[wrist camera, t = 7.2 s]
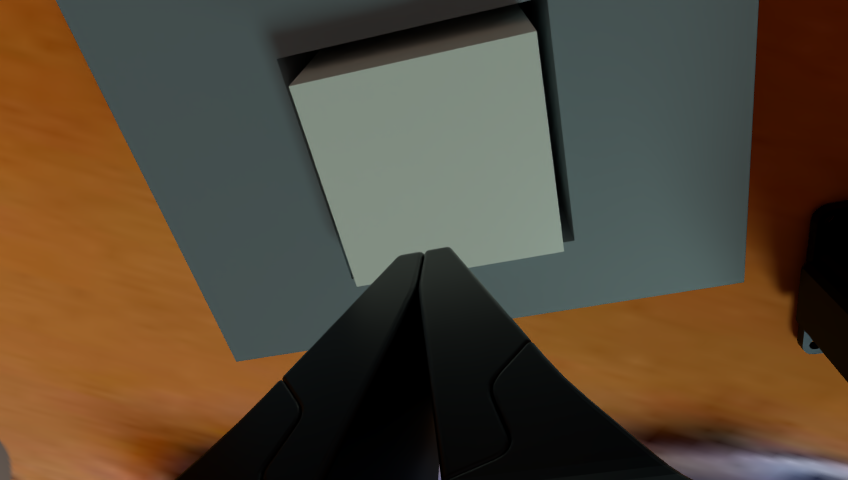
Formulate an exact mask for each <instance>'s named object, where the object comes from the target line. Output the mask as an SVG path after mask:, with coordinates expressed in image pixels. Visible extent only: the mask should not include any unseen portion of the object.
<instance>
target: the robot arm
mask: <svg viewBox="0 0 848 480" xmlns="http://www.w3.org/2000/svg"><path fill="white" fill-rule="evenodd" d="M833 215H834V217H833V219H832V220H830V221H829V222H826V223H825V221H826V219H828V218H829V217H830V216H833ZM796 321H797V322H798V323H799V329H798V338H797V341H798V344H799V345H800V346H801V348H802V349H803V350H804V351H805V352H806V353H809V354H819V353H824V354H825V356H826V357H827V358H828V359H829V360H830V362H831V363H832V364H833V365H834V366H835V368H836V369H837V370H838V371H839V372H840V374H841V375H842V376H843V377H844V378H845V380H846V381H847V382H848V200H847V201H841V202H835V203H830V204H826V205H823V206H821V207H819V208H818V209H816V211H815V212H814V213H813V214H812V217H811V223H810V232H809V240H808V249H807V258H806V263H805V264H804V266H803V267H802V269H801V277H800V286H799V295H798V304H797V314H796ZM812 341H814V342H812ZM282 380H283V381H282ZM282 380H280V381H278V382H277V383H276V385H275V386H274V387H273V388H272V389H271V390H270V391H269V392H268V393H267V394H266V395H265V396H264V397H263V398H262V399H261V400H260V401H259V402H258V403H257V404H256V405H255V406H254V407H253V408H252V409H251V410H250V411H249V412H248V413H247V414H246V415H245V416H244V417H243V418H242V419H241V420H240V421H239V422H238V423H237V424H236V425H235V426H234V427H233V428H232V429H231V430H229V431H228V432H227V433H226V434H225V435H224V436H223V437H222V438H221V439H220V440H219V441H218V442H216V443H215V444H214V445H213V446H212V447H211V448H210V449H209V450H208V451H207V452H205V453H204V454H203V455H202V456H201V457H200V458H199V459H198V460H196V461H195V462H194V463H193V464H192V465H191V466H190V467H189V468H187V469H186V470H185V471H184V472H183V473H182V474H181V475H180V476H178V477H177V478H176V479H175V480H438V473H439V465H440V473H441V480H692V479H690V478H689V477H687V476H685V475H683V474H681V473H680V472H678V471H677V470H675V469H674V468H672V467H671V466H669V465H668V464H667V463H665V462H664V461H663V460H662V459H660V458H659V457H658V456H657V455H655V454H654V453H653V452H652V451H651V450H649V449H648V448H647V447H646V446H645V445H643V444H642V443H641V442H640V441H639V440H637V439H636V438H635V437H634V436H633V435H631V434H630V433H629V432H628V431H627V430H625V429H624V428H623V427H622V426H621V425H619V424H618V423H617V422H616V421H615V420H613V419H612V418H611V417H610V416H609V415H607V414H606V413H605V412H604V411H603V410H601V409H600V408H599V407H598V406H597V405H595V404H594V403H593V402H592V401H591V400H589V399H588V398H587V397H586V396H585V395H584V394H583V393H582V392H580V391H579V390H578V389H577V388H576V387H575V386H574V385H573V384H572V383H570V382H569V381H568V380H567V379H566V378H565V377H564V376H563V375H562V374H561V373H560V372H559V371H558V370H557V369H556V368H555V367H554V366H553V365H552V363H551V362H550V361H549V360H548V359H547V358H546V357H545V356H544V355H543V354H542V353H541V351H540V350H539V349H538V348H537V347H536V346H535V344H534V343H532V342H531V340H530V339H529V338H528V337H527V336H526V334H525V333H524V332H523V331H522V330H521V329H520V327H519V326H518V325H517V324H516V323H515V322H514V320H513V319H512V318H511V317H510V316H509V315H508V313H507V312H506V311H505V310H504V309H503V308H502V307H501V305H500V304H499V303H498V302H497V301H496V300H495V298H494V297H493V296H492V295H491V294H490V293H489V291H488V290H487V289H486V288H485V287H484V286H483V285H482V283H481V282H480V281H479V280H478V279H477V278H476V276H475V275H474V274H473V273H472V272H471V271H470V269H469V268H468V267H467V266H466V265H465V264H464V262H463V261H462V260H461V259H460V258H459V257H458V256H457V254H456V253H455V252H454V251H453V250H452V249H451V248H450V247H443V248H437V249H432V250H428V251H426V252H425V254H424V253H422V252H415V253H409V254H404V255H400V256H398V257H397V258H396V259H395V260H394V261H393V262H392V263H391V264H390V265H389V266H388V267H387V268H386V269H385V270H384V271H383V272H382V274H381V275H380V276H379V277H378V278H377V279H376V280H375V281H374V282H373V283H372V284H371V285H370V286H369V287H368V288H367V289H366V290H365V291H364V292H363V293H362V295H361V296H360V297H359V298H358V299H357V300H356V301H355V302H354V303H353V304H352V305H351V306H350V307H349V308H348V309H347V310H346V311H345V312H344V313H343V314H342V316H341V317H340V318H339V319H338V320H337V321H336V322H335V323H334V324H333V325H332V326H331V327H330V328H329V329H328V330H327V331H326V332H325V333H324V334H323V335H322V336H321V338H320V339H319V340H318V341H317V342H316V343H315V344H314V345H313V346H312V347H311V348H310V349H309V350H308V351H307V352H306V353H305V354H304V355H303V356H302V357H301V359H300V360H299V361H298V362H297V363H296V364H295V365H294V366H293V367H292V368H291V369H290V370H289V371H288V372H287V373H286V374H285V375H284V376H283V378H282Z"/></svg>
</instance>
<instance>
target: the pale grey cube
mask: <svg viewBox="0 0 848 480" xmlns="http://www.w3.org/2000/svg"><path fill="white" fill-rule="evenodd" d="M289 89H290V92H291V95H292V98H293V100H294V103H295V106H296V109H297V112H298V115H299V118H300V121H301V124H302V127H303V130H304V133H305V136H306V139H307V142H308V145H309V148H310V150H311V153H312V156H313V159H314V162H315V165H316V168H317V171H318V174H319V177H320V180H321V183H322V186H323V189H324V192H325V195H326V198H327V201H328V203H329V206H330V209H331V212H332V215H333V218H334V221H335V224H336V227H337V230H338V233H339V236H340V239H341V242H342V245H343V248H344V251H345V253H346V256H347V259H348V262H349V265H350V268H351V271H352V274H353V277H354V280H355V283H356V286H357V287H359V286H365V285H371V284H372V283H373V282H374V281H375V280H376V279H377V278H378V277H379V276H380V275H381V274H382V272H383V271H384V270H385V269H386V268H387V267H388V266H389V265H390V264H391V263H392V262H393V261H394V260H395V259H396V258H397V257H398V256H400V255H404V254H409V253H415V252H422V253H424V254H425V252H426V251H428V250H432V249H437V248H443V247H450V248H451V249H452V250H453V251H454V252H455V253H456V254H457V256H458V257H459V258H460V259H461V260H462V261H463V262H464V264H465V265H466V266H467V267H468V268H471V267H477V266H482V265H488V264H494V263H500V262H506V261H512V260H518V259H523V258H529V257H535V256H541V255H547V254H553V253H559V252H564V246H563V238H562V230H561V222H560V214H559V206H558V198H557V190H556V182H555V174H554V166H553V158H552V150H551V142H550V134H549V126H548V118H547V110H546V102H545V94H544V86H543V78H542V70H541V62H540V54H539V46H538V38H537V31H536V29H535V28H534V27H533V25H532V24H531V22H530V21H529V19H528V18H527V17H526V15H525V14H524V12H523V11H522V9H521V8H520V7H519V5H518V4H517V3H516V4H512V5H508V6H503V7H499V8H495V9H490V10H486V11H482V12H477V13H473V14H469V15H464V16H460V17H456V18H451V19H447V20H443V21H438V22H434V23H430V24H425V25H421V26H417V27H412V28H408V29H404V30H399V31H395V32H391V33H387V34H382V35H378V36H374V37H369V38H365V39H361V40H356V41H352V42H348V43H343V44H339V45H335V46H330V47H326V48H322V49H320V51H319V52H318V53H317V54H316V55H315V56H314V58H313V59H312V60H311V61H310V62H309V63H308V65H307V66H306V67H305V68H304V69H303V70H302V72H301V73H300V74H299V75H298V76H297V77H296V78H295V80H294V81H293V82H292V83H291V84H290V85H289Z"/></svg>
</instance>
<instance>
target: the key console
mask: <svg viewBox="0 0 848 480" xmlns="http://www.w3.org/2000/svg"><path fill="white" fill-rule="evenodd" d="M56 2H57V4H58V6H59V8H60V10H61V12H62V14H63V16H64V18H65V20H66V22H67V24H68V26H69V28H70V30H71V32H72V34H73V36H74V38H75V40H76V42H77V44H78V46H79V48H80V50H81V52H82V54H83V56H84V58H85V60H86V62H87V64H88V66H89V68H90V70H91V72H92V74H93V76H94V78H95V80H96V82H97V84H98V86H99V88H100V90H101V92H102V94H103V96H104V98H105V100H106V102H107V104H108V106H109V108H110V110H111V112H112V114H113V116H114V118H115V120H116V122H117V124H118V126H119V128H120V130H121V132H122V134H123V136H124V138H125V140H126V142H127V144H128V146H129V148H130V150H131V152H132V154H133V156H134V158H135V160H136V162H137V164H138V166H139V168H140V170H141V172H142V174H143V176H144V178H145V180H146V182H147V184H148V186H149V188H150V190H151V192H152V194H153V196H154V198H155V200H156V202H157V204H158V206H159V208H160V210H161V212H162V214H163V216H164V218H165V220H166V222H167V224H168V226H169V228H170V230H171V232H172V234H173V236H174V238H175V240H176V242H177V244H178V246H179V248H180V250H181V252H182V254H183V256H184V258H185V260H186V262H187V264H188V266H189V268H190V270H191V272H192V274H193V276H194V278H195V280H196V282H197V284H198V286H199V288H200V290H201V292H202V294H203V296H204V298H205V300H206V302H207V304H208V306H209V308H210V310H211V312H212V314H213V316H214V318H215V320H216V322H217V324H218V326H219V328H220V330H221V332H222V334H223V336H224V338H225V340H226V342H227V344H228V346H229V348H230V350H231V352H232V354H233V356H234V358H235V360H236V362H237V361H243V360H250V359H256V358H262V357H269V356H275V355H282V354H288V353H294V352H301V351H307V350H309V349H310V348H311V347H312V346H313V345H314V344H315V343H316V342H317V341H318V340H319V339H320V338H321V336H322V335H323V334H324V333H325V332H326V331H327V330H328V329H329V328H330V327H331V326H332V325H333V324H334V323H335V322H336V321H337V320H338V319H339V318H340V317H341V316H342V314H343V313H344V312H345V311H346V310H347V309H348V308H349V307H350V306H351V305H352V304H353V303H354V302H355V301H356V300H357V299H358V298H359V297H360V296H361V295H362V293H363V292H364V291H365V290H366V289H367V288H368V287H369V286H370V285H365V286H359V287H357V286H356V283H355V280H354V277H353V274H352V271H351V268H350V265H349V262H348V259H347V256H346V253H345V251H344V248H343V245H342V242H341V239H340V236H339V233H338V230H337V227H336V224H335V221H334V218H333V215H332V212H331V209H330V206H329V203H328V201H327V198H326V195H325V192H324V189H323V186H322V183H321V180H320V177H319V174H318V171H317V168H316V165H315V162H314V159H313V156H312V153H311V150H310V148H309V145H308V142H307V139H306V136H305V133H304V130H303V127H302V124H301V121H300V118H299V115H298V112H297V109H296V106H295V103H294V100H293V98H292V95H291V92H290V89H289V85H290V84H291V83H292V82H293V81H294V80H295V78H296V77H297V76H298V75H299V74H300V73H301V72H302V70H303V69H304V68H305V67H306V66H307V65H308V63H309V62H310V61H311V60H312V59H313V58H314V56H315V55H316V54H317V53H318V52H319V51H320V49H322V48H326V47H330V46H335V45H339V44H343V43H348V42H352V41H356V40H361V39H365V38H369V37H374V36H378V35H382V34H387V33H391V32H395V31H399V30H404V29H408V28H412V27H417V26H421V25H425V24H430V23H434V22H438V21H443V20H447V19H451V18H456V17H460V16H464V15H469V14H473V13H477V12H482V11H486V10H490V9H495V8H499V7H503V6H508V5H512V4H516V3H517V4H518V5H519V7H520V8H521V9H522V11H523V12H524V14H525V15H526V17H527V18H528V19H529V21H530V22H531V24H532V25H533V27H534V28H535V29H536V31H537V38H538V46H539V54H540V62H541V70H542V78H543V86H544V94H545V102H546V110H547V118H548V126H549V134H550V142H551V150H552V158H553V166H554V174H555V182H556V190H557V198H558V206H559V214H560V222H561V230H562V238H563V246H564V252H559V253H553V254H547V255H541V256H535V257H529V258H523V259H518V260H512V261H506V262H500V263H494V264H488V265H482V266H477V267H471V268H469V269H470V271H471V272H472V273H473V274H474V275H475V276H476V278H477V279H478V280H479V281H480V282H481V283H482V285H483V286H484V287H485V288H486V289H487V290H488V291H489V293H490V294H491V295H492V296H493V297H494V298H495V300H496V301H497V302H498V303H499V304H500V305H501V307H502V308H503V309H504V310H505V311H506V312H507V313H508V315H509V316H510V317H511V318H518V317H524V316H531V315H537V314H543V313H550V312H556V311H563V310H569V309H575V308H582V307H588V306H595V305H601V304H607V303H614V302H620V301H627V300H633V299H639V298H646V297H652V296H658V295H665V294H671V293H678V292H684V291H690V290H697V289H703V288H710V287H716V286H722V285H729V284H735V283H741V282H744V272H745V253H746V234H747V215H748V196H749V177H750V158H751V139H752V120H753V101H754V82H755V64H756V45H757V26H758V7H759V0H56Z"/></svg>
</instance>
